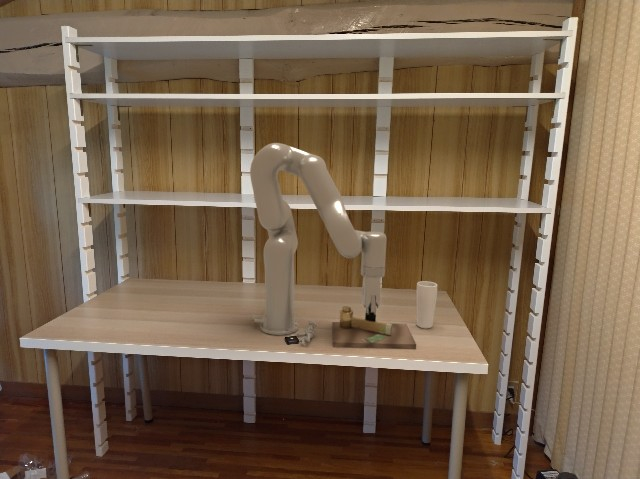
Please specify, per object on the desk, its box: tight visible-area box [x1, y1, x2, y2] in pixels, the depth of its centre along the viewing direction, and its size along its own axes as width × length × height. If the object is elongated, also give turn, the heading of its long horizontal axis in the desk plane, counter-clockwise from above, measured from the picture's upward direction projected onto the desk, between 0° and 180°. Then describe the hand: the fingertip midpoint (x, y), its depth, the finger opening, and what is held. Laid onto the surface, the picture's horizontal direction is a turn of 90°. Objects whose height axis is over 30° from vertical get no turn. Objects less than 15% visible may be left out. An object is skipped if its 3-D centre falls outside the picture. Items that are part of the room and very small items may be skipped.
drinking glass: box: [415, 280, 438, 330], centre depth 157 cm, size 7×7×15 cm
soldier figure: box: [295, 320, 317, 347], centre depth 145 cm, size 8×5×12 cm
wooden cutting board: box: [331, 321, 417, 350], centre depth 148 cm, size 25×17×2 cm
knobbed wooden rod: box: [339, 305, 392, 335], centre depth 148 cm, size 18×4×6 cm, turn 63°
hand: (370, 325), depth 151 cm, fingers closed
